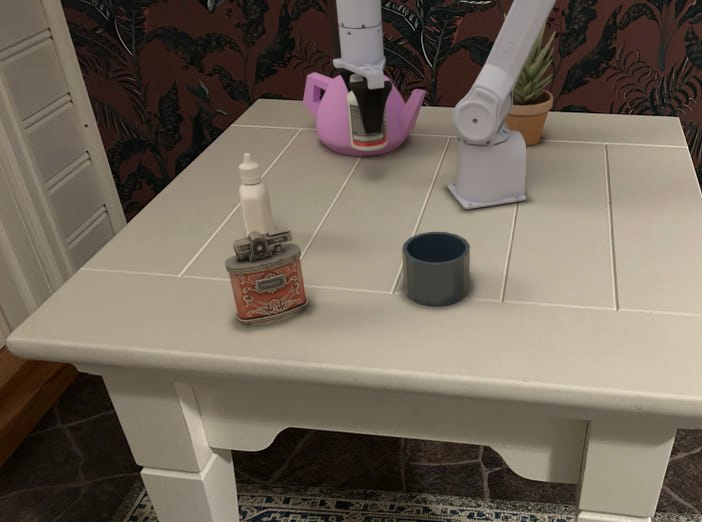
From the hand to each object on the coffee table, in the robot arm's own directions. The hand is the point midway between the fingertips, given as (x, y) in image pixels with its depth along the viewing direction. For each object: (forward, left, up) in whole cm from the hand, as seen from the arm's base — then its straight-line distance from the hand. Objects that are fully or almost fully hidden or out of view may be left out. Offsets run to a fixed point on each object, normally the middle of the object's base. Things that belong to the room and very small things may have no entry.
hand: (367, 125), depth 105 cm
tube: (0, +32, -9) cm, 33 cm away
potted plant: (-28, -8, -9) cm, 30 cm away
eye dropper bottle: (+18, +14, -9) cm, 24 cm away
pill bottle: (0, 0, -3) cm, 3 cm away
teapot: (-3, -16, -9) cm, 19 cm away
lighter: (+19, +31, -9) cm, 37 cm away
